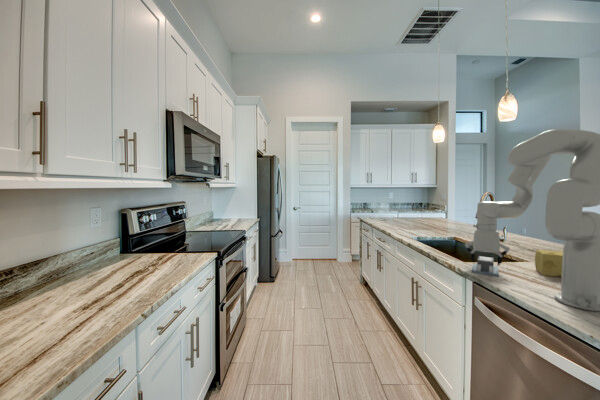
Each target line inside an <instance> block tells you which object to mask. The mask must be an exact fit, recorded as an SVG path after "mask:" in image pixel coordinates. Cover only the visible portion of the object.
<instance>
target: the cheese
mask: <svg viewBox="0 0 600 400" xmlns="http://www.w3.org/2000/svg"><path fill="white" fill-rule="evenodd" d="M562 261H563V250H562V251H561V250H560V251H557V250H556V251H555V250H543V249H536V251H535V256H534V266H535V270H536V271H537V272H539V273H540V274H541V275H542V276H547V277H560V278H562Z"/></svg>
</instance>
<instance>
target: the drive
mask: <svg viewBox="0 0 600 400" xmlns="http://www.w3.org/2000/svg"><path fill="white" fill-rule="evenodd" d="M494 261H495V260H494V257H491V256H490V257H489V256H483V255H479V256H478V257H477V262H476V263H477V264H481V271H488V272H489V266H494V264H495V263H494Z"/></svg>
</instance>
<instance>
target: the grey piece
mask: <svg viewBox="0 0 600 400" xmlns="http://www.w3.org/2000/svg"><path fill="white" fill-rule="evenodd" d="M472 263H473V264H472V267H471V273H474V274H481V275H486V276H492V277H493V276H494V277H499V275H500V274H499V265H493V266H489V272H488V271H481V264H477V262H472Z"/></svg>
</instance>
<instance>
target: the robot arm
mask: <svg viewBox="0 0 600 400" xmlns="http://www.w3.org/2000/svg"><path fill="white" fill-rule="evenodd" d="M552 155H567V156H568V155H572V156H574V158H573V160H572V162H571V163H570V166H569V177H568V178H565V179H560V180H557V181H556V182H554V183H553V184H552V185H551V186H550V187H549V189H548V191H547V194H546V201H545V223H544V224H545V228H546V229H545V230H546V231H547V233H548V234H549V235H550V236H551V237H552V238H554V239H555V240H559V241H563V242H564V245H563V249H562V251H563V261H562V277H561V286H560V287H561V289H560V290H561V291H560V292H557V293H555V294H554V299H555V300H556V301H558V302H560V303H562V304H565V305H567V306H569V307H573V308H577V309H580V310H585V311H591V312H598V313H599V312H600V213H598V212H595V211H587V210H583V209H584V208H592V207H598V206H600V133H597V132H594V131H590V130H583V129H564V128H559V129H558V128H557V129H555V128H554V129H549V130H546V131H543V132H542V133H539V134H537V135H535V136H533V137H531V138H529V139H527V140H525V141H522V142H520V143H519V144H517V145H515V146H514V147H512V148H511V150H510V151H509V153H508V155H507V161H508V163H509V164H510V165H512V166H514V167H513V169H512V171H511V173H510V174H509V175H508V178H507V179H508V180H507V181H508V182H509V183H510V185H513V186H514V187H515V188H516V189H515V190H516V191H515V193H514V196H513V197H512V199H511V200H510V201H479V202H478V203H477V204H476V205H477V206H476V207H477V210H476V211H477V212H476V213H477V215H476V216H477V217H476V219H477V222H476V224H474V223H473V228H476V229H474V233H473V240H471V241H468V242H466V243H465V244H464V246H465V248H466V250H468V252H470V254H471V255H470V256H471V257H470V259H471V261H472V263H476V262H475V261H476V253H475V252H484V253H492V254H495V253H496V254H497V266H498V267H499V266H501V264H502V263H503V262H502V258H503V257H504V256H506V255H507V253H509V251H510V247H509V246H506V245H504V244H502V243H501V240H500V239H501V238H500V233H499V230H497V222H498V221H497V220H501V219H502V220H504V219H516V218H517V219H518V218H520V217H522V216H523V215H524V214H525V212H526V211H527V210H528V208H529V207H530V205H531V204H532V202H533V198H534V197H533V196H534V189H533V186H534V184H535V183H536V181H537V179H538V178H539V177H540V175H541V173H542V172H543V171H544V169H545V168H546V166H547V164H548V163H549V161H550V160H551V158H552ZM470 246H473V247H472V248H471V247H470ZM500 248H502V249H504V250H503V251H502V252H501V251H500V250H501V249H500Z"/></svg>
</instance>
